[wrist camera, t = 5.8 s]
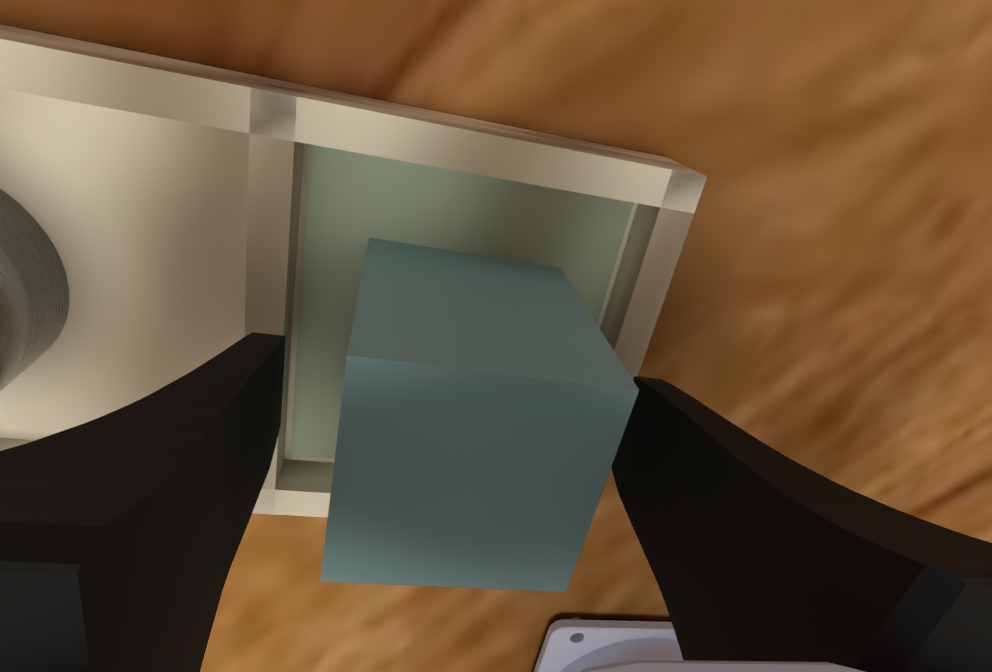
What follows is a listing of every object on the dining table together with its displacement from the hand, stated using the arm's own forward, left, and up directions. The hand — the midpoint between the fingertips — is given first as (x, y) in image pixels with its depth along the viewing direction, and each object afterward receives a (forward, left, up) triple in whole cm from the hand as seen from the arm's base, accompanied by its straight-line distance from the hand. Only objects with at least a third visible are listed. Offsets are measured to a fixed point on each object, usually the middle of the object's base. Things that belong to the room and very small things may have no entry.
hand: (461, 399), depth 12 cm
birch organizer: (+6, 0, -4) cm, 7 cm away
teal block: (0, 0, -3) cm, 3 cm away
